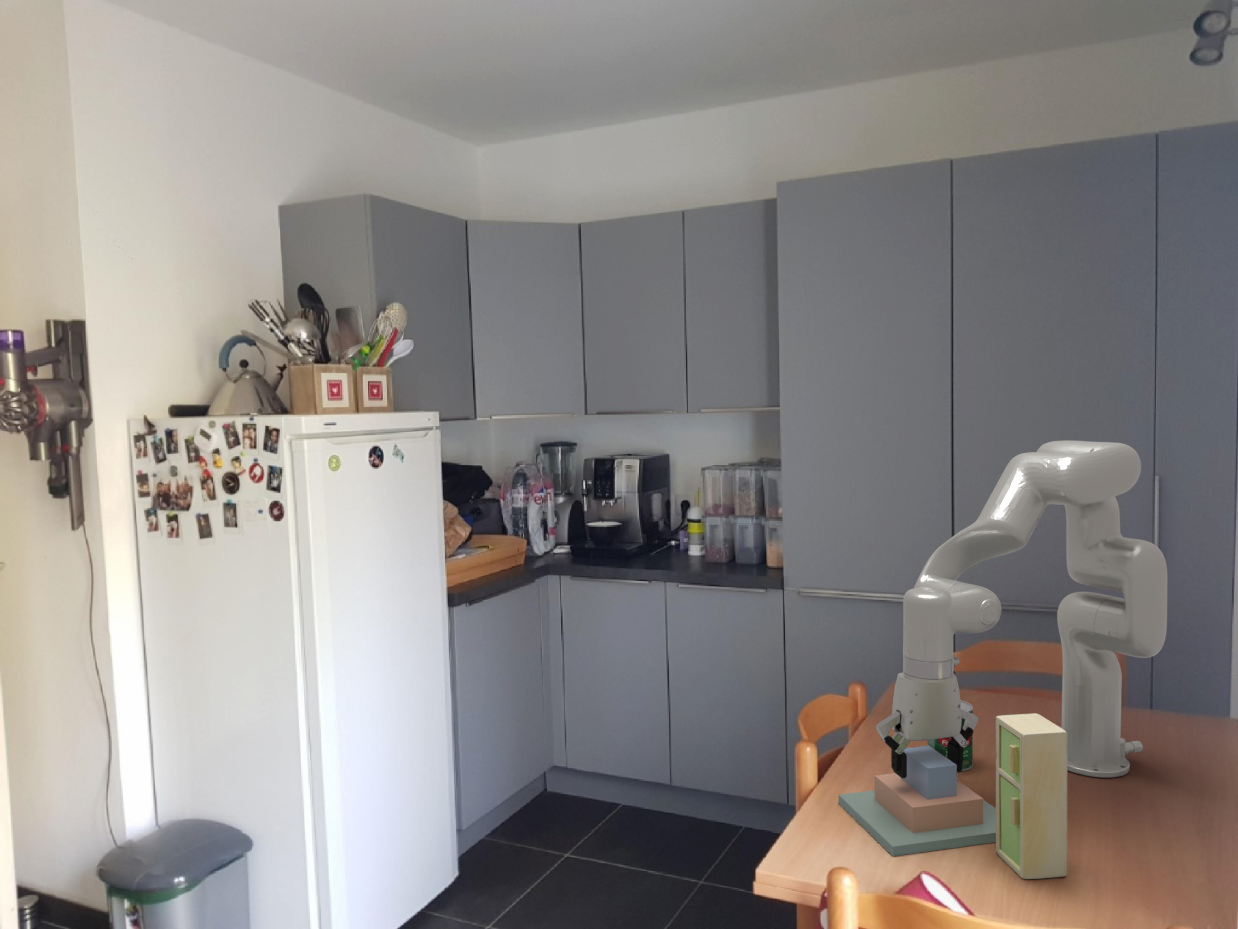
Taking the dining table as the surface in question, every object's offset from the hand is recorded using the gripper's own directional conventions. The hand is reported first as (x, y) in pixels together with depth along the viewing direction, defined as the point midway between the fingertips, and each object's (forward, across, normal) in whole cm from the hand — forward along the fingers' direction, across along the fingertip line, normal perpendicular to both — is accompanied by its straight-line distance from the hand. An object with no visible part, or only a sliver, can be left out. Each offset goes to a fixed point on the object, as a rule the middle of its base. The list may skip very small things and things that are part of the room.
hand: (927, 771), depth 144 cm
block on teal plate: (+8, 0, 0) cm, 8 cm away
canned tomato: (+8, -16, -19) cm, 26 cm away
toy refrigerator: (+8, -6, +16) cm, 19 cm away
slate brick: (+2, 0, 0) cm, 3 cm away
